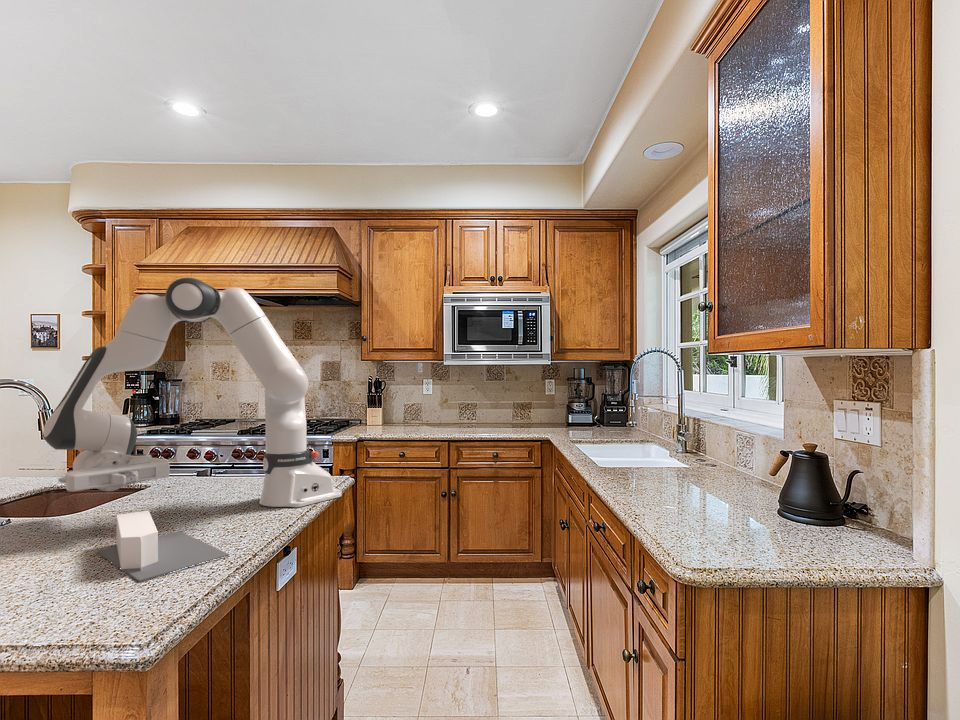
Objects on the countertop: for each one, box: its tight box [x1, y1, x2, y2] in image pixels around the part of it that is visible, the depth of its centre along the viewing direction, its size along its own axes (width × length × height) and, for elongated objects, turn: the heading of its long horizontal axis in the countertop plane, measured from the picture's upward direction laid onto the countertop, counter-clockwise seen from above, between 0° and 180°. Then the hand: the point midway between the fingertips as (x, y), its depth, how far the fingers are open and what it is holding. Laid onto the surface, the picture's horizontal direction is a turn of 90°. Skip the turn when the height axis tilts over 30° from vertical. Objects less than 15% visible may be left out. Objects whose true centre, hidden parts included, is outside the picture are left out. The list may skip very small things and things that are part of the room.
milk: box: [115, 510, 159, 570], centre depth 105 cm, size 6×6×22 cm
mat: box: [96, 531, 230, 583], centre depth 106 cm, size 24×16×1 cm, turn 52°
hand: (131, 479), depth 116 cm, fingers closed
